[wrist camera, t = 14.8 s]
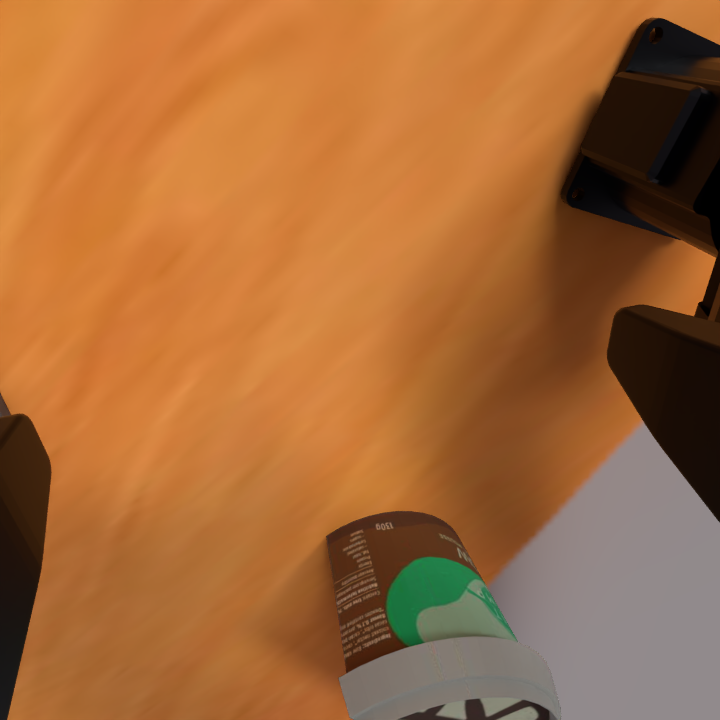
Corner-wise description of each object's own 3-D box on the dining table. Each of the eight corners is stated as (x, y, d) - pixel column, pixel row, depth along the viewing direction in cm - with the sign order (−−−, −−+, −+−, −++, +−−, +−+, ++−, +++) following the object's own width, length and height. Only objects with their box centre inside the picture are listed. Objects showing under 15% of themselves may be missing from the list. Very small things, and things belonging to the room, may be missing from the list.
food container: (517, 565, 34) (615, 745, 26) (432, 618, 35) (501, 808, 27) (409, 452, 28) (494, 645, 20) (308, 522, 29) (348, 734, 21)
